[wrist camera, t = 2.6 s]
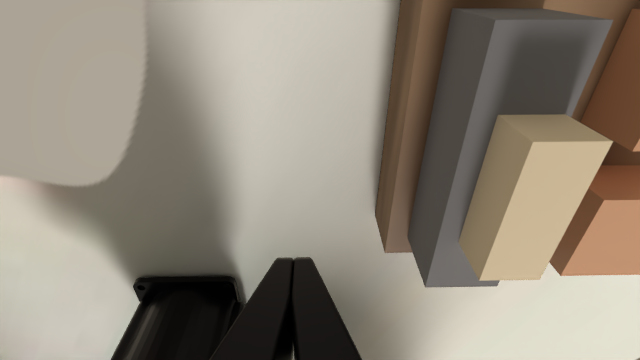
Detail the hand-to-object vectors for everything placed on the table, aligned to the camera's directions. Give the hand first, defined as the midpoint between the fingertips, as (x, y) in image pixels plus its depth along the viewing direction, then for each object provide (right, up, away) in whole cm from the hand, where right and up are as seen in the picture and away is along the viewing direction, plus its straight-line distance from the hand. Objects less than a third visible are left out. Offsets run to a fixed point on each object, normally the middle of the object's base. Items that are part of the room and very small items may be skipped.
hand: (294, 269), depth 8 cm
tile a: (+13, +1, +7) cm, 15 cm away
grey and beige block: (+6, +4, +6) cm, 9 cm away
